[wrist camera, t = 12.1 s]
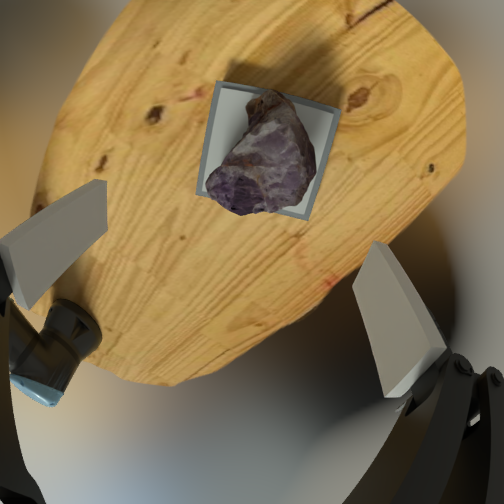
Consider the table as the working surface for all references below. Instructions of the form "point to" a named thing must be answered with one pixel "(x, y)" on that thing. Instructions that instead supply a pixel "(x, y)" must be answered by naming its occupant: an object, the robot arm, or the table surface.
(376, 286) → the robot arm
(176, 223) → the table surface
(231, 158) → the rock
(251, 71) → the table surface
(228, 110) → the grey flat square block
